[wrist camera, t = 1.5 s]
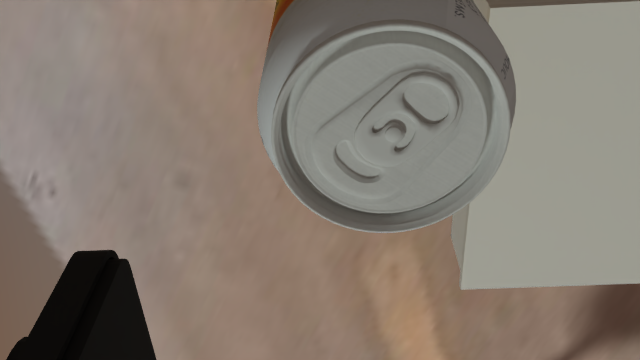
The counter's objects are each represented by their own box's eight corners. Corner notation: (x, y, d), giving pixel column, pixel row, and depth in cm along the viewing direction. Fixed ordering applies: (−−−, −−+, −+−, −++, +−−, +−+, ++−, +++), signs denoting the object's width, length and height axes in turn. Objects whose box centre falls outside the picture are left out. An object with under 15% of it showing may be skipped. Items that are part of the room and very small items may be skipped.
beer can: (256, -31, 26) (197, 147, 14) (355, -150, 24) (394, -65, 11) (358, 59, 28) (387, 283, 16) (458, -40, 26) (586, 132, 13)
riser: (468, -22, 26) (490, 8, 23) (762, -36, 26) (827, -8, 23) (446, 239, 34) (460, 289, 31) (671, 231, 34) (709, 281, 31)
